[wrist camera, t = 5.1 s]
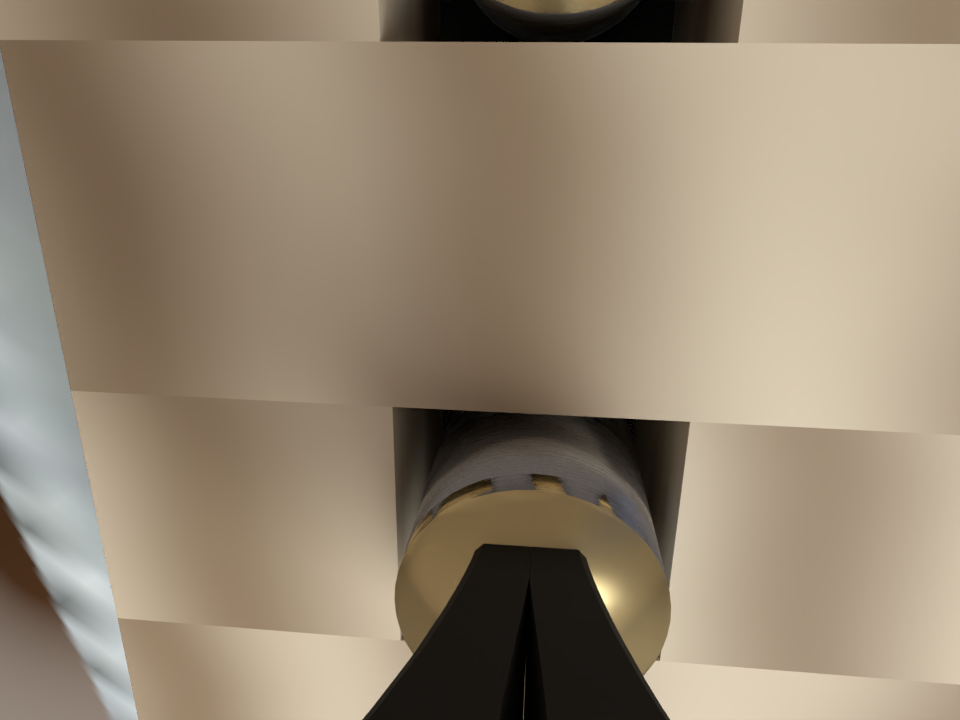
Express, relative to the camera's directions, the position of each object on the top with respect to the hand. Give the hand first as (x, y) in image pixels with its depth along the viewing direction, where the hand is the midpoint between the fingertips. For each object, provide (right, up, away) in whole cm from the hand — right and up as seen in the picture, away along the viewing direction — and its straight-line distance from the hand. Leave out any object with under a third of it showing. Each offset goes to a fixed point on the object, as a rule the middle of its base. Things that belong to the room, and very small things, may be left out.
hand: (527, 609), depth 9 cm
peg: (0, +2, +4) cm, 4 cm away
